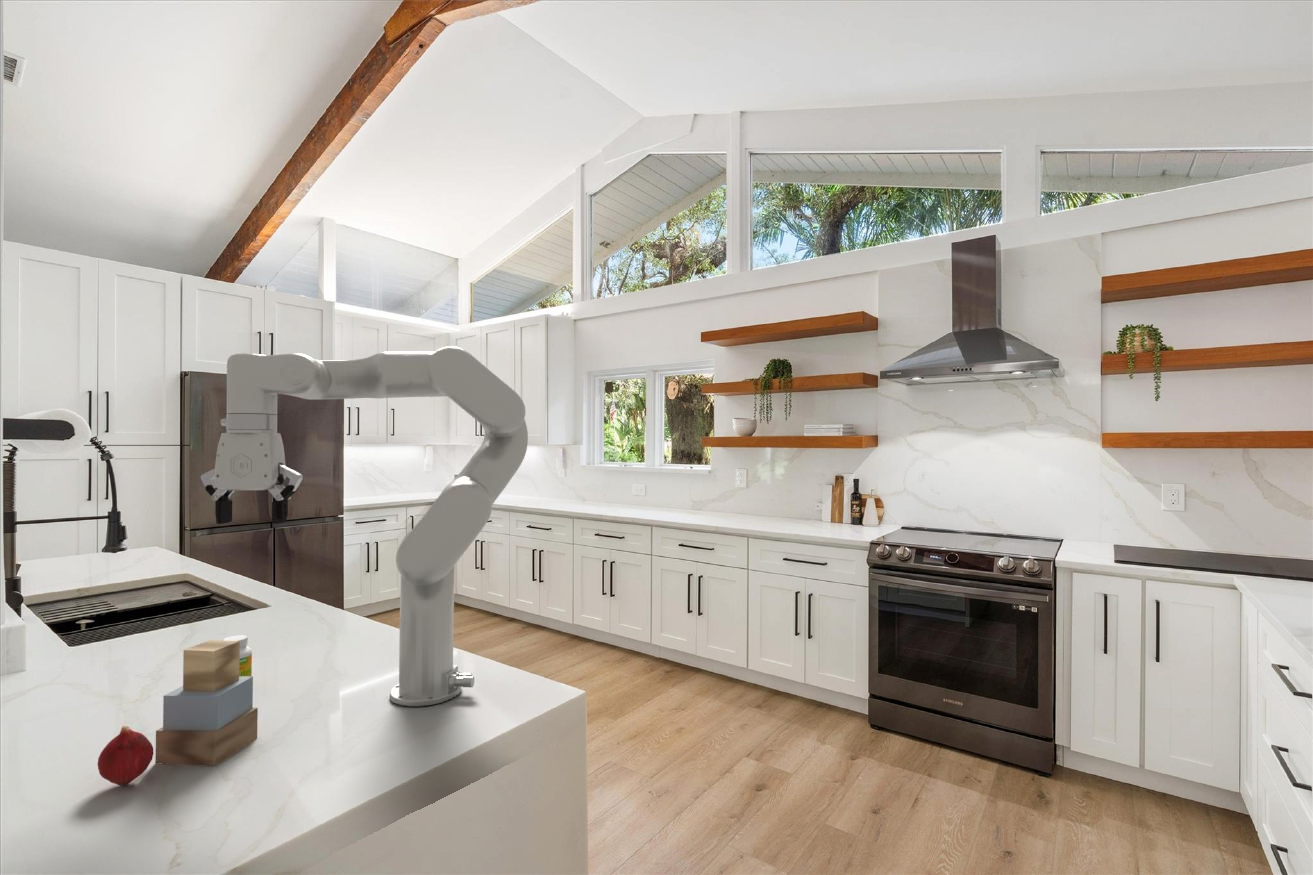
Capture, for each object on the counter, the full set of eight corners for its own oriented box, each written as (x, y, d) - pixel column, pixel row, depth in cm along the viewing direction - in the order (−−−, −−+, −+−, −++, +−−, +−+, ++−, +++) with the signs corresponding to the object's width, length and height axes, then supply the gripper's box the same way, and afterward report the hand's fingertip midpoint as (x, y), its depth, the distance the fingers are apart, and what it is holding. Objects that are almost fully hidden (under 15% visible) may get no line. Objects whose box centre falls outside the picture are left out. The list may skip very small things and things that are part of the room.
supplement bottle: (234, 696, 118) (235, 643, 118) (210, 693, 119) (210, 641, 119) (258, 685, 123) (258, 634, 124) (234, 683, 124) (235, 632, 125)
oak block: (213, 691, 95) (213, 651, 95) (183, 690, 96) (183, 649, 96) (239, 679, 100) (239, 641, 100) (210, 678, 101) (210, 639, 101)
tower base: (257, 739, 101) (257, 707, 101) (213, 767, 92) (214, 733, 93) (203, 737, 102) (204, 705, 102) (155, 765, 93) (155, 730, 93)
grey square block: (252, 708, 101) (252, 676, 101) (217, 730, 93) (217, 696, 93) (202, 707, 101) (202, 675, 102) (163, 730, 93) (163, 695, 94)
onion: (163, 773, 90) (163, 716, 90) (130, 796, 84) (131, 735, 85) (120, 774, 90) (121, 717, 90) (85, 796, 84) (86, 735, 84)
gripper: (187, 424, 108) (186, 525, 108) (288, 424, 108) (288, 525, 108) (218, 425, 116) (217, 520, 116) (313, 425, 116) (312, 520, 115)
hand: (251, 522), depth 112 cm, fingers open, 9 cm apart
